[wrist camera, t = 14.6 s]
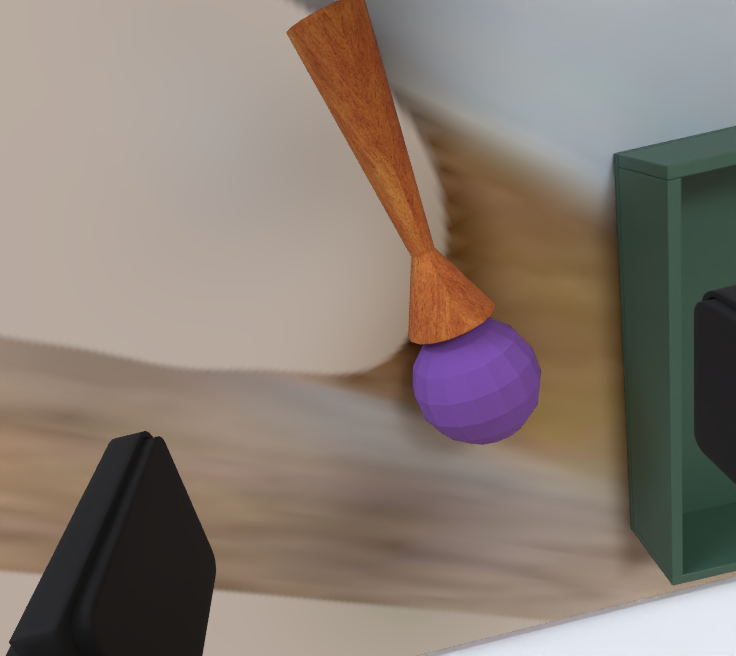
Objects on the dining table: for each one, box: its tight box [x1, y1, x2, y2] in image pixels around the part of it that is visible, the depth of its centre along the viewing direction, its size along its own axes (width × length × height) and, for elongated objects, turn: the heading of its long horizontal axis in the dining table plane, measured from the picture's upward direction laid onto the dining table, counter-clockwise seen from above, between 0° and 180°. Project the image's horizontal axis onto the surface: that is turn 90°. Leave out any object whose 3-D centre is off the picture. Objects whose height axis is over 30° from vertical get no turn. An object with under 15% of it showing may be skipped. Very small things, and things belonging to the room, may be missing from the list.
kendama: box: [287, 0, 541, 445], centre depth 27 cm, size 6×6×20 cm
